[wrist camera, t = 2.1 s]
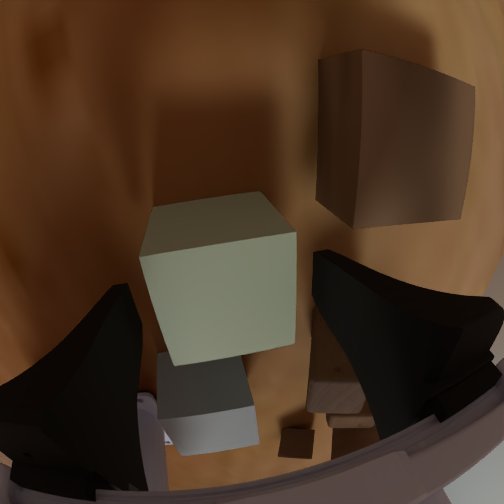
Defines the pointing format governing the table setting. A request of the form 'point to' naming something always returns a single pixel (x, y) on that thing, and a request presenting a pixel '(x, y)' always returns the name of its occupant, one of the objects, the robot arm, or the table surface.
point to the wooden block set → (331, 400)
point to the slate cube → (205, 405)
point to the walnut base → (392, 140)
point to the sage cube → (221, 276)
